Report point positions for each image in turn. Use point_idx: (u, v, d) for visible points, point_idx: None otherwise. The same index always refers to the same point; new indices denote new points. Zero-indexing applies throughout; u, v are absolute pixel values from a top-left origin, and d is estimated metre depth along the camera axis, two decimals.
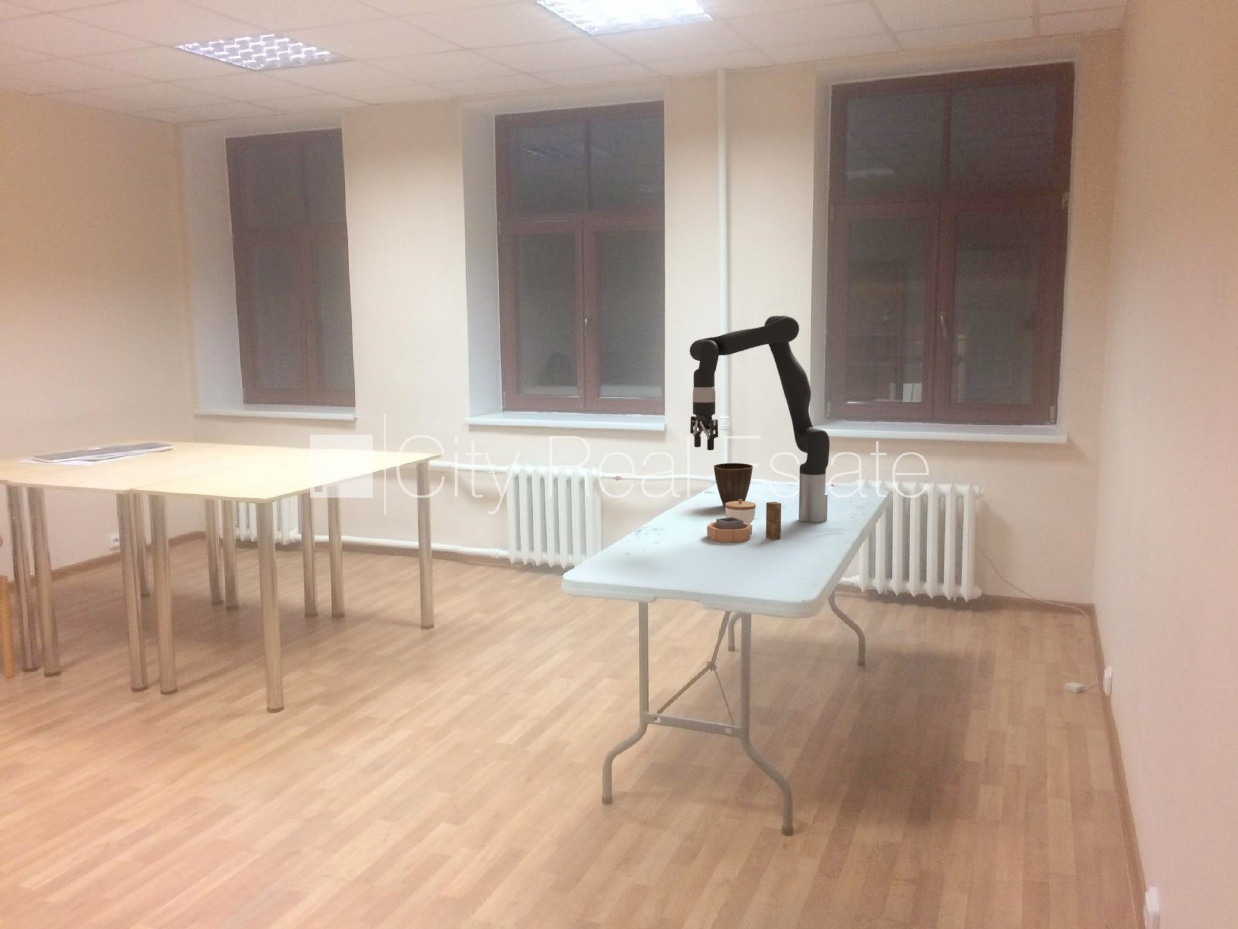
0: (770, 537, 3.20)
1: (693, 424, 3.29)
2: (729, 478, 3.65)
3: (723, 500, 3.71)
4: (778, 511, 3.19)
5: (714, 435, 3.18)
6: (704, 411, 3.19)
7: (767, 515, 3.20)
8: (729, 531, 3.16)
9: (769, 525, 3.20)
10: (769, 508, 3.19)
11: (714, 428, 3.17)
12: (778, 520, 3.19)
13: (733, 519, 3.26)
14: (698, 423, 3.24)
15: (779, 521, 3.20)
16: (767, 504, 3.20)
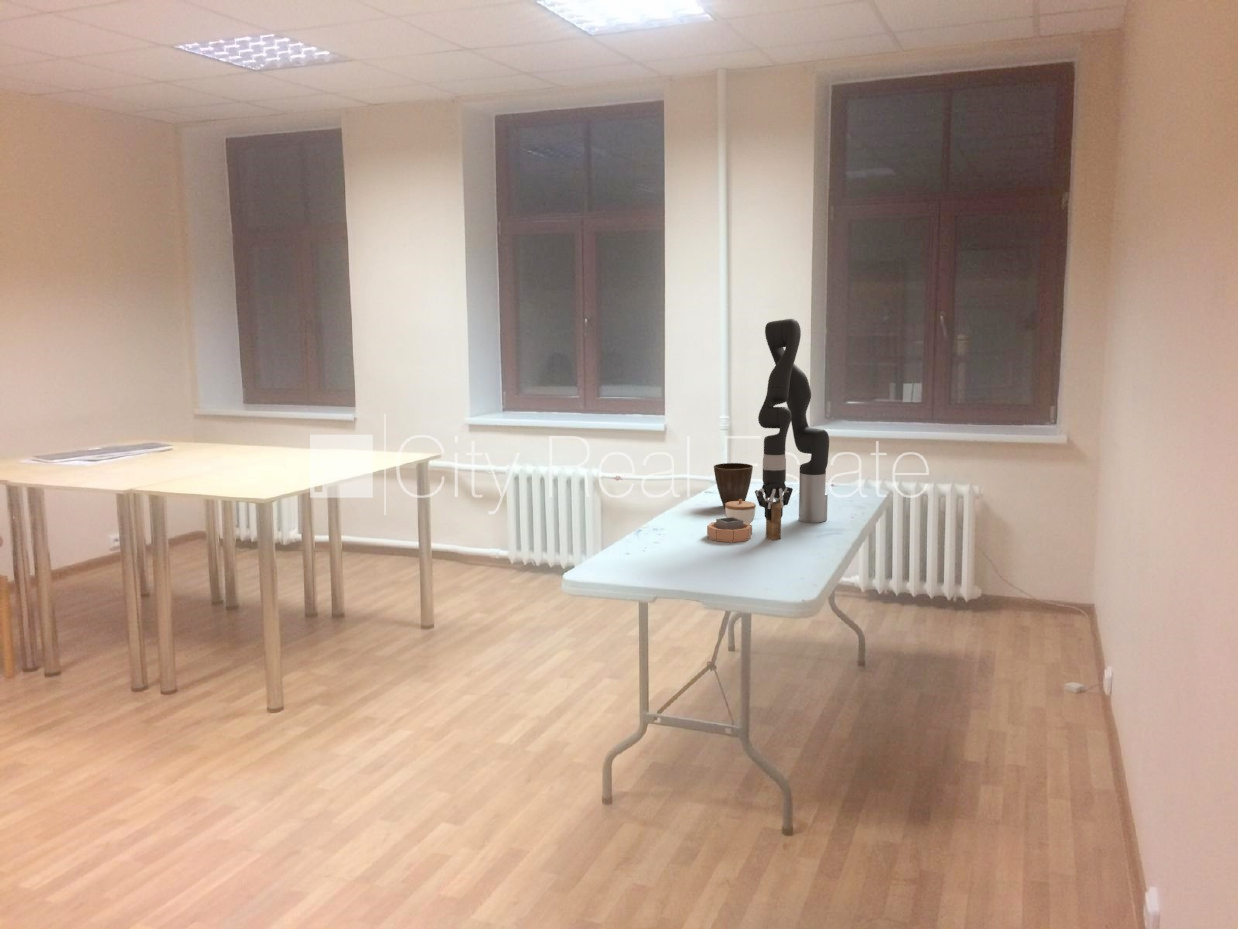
0: (770, 537, 3.20)
1: None
2: (729, 478, 3.65)
3: (723, 500, 3.71)
4: (778, 511, 3.19)
5: None
6: (785, 477, 3.18)
7: None
8: (729, 531, 3.16)
9: (769, 525, 3.20)
10: None
11: None
12: (778, 520, 3.19)
13: (733, 519, 3.26)
14: None
15: (779, 521, 3.20)
16: None
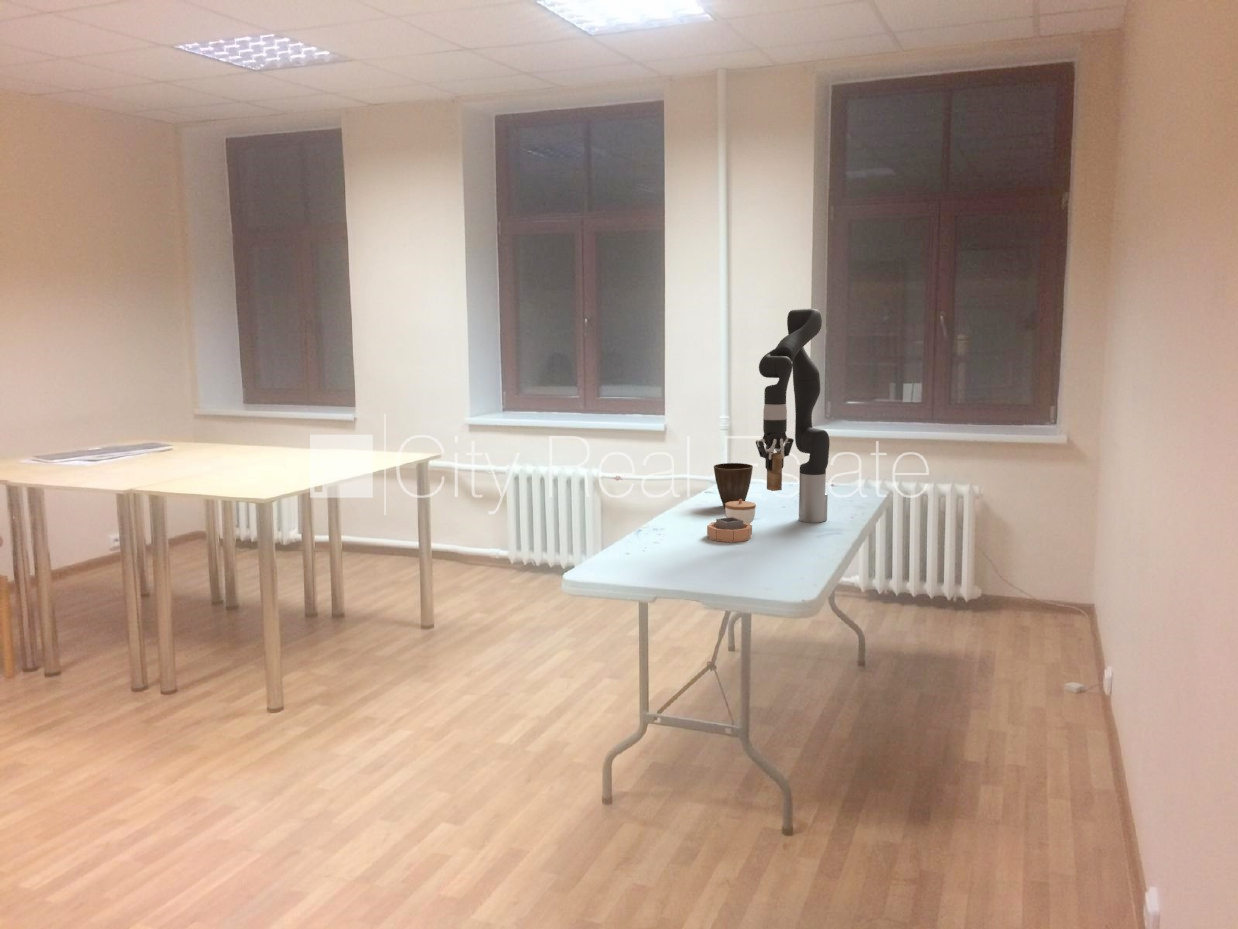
0: (771, 488, 3.17)
1: None
2: (729, 478, 3.65)
3: (723, 500, 3.71)
4: (779, 462, 3.16)
5: None
6: (786, 427, 3.16)
7: None
8: (729, 531, 3.16)
9: (770, 476, 3.17)
10: None
11: None
12: (779, 470, 3.17)
13: (733, 519, 3.26)
14: None
15: (780, 472, 3.17)
16: None
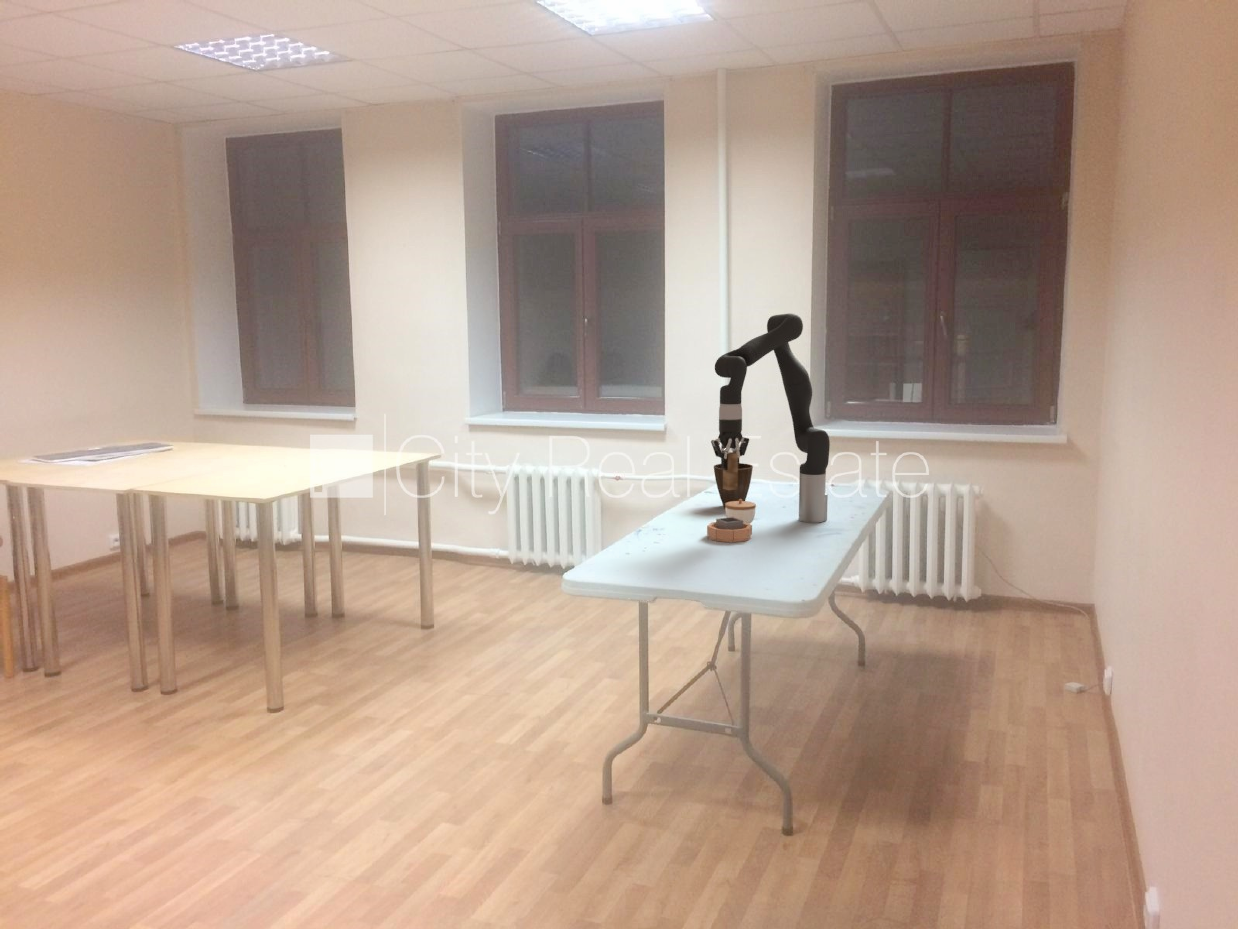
0: (727, 487, 3.19)
1: None
2: None
3: (723, 500, 3.71)
4: (734, 461, 3.18)
5: None
6: None
7: None
8: (729, 531, 3.16)
9: (726, 475, 3.19)
10: None
11: None
12: (735, 470, 3.19)
13: (733, 519, 3.26)
14: None
15: (736, 471, 3.19)
16: None
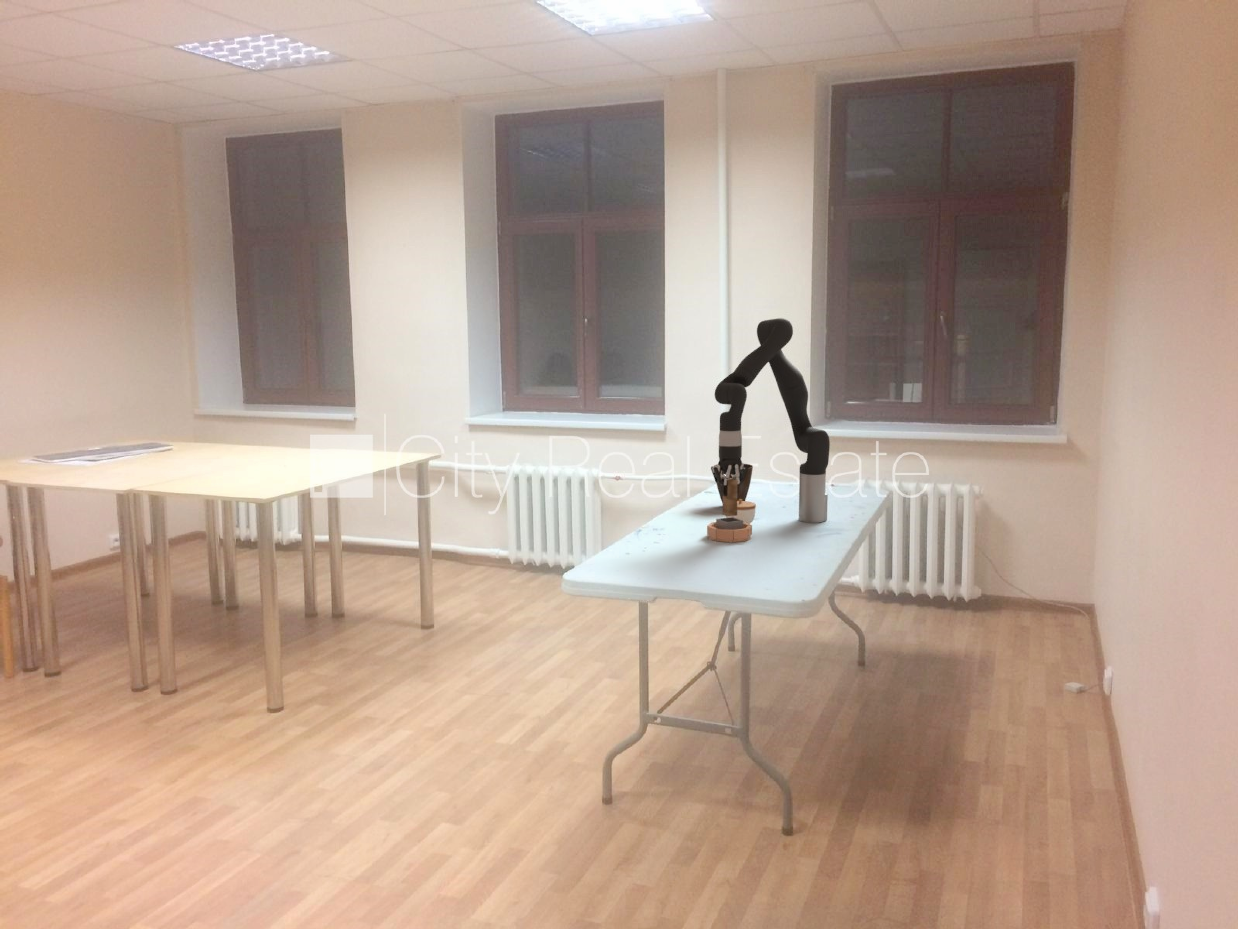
0: (726, 513, 3.21)
1: None
2: None
3: None
4: (734, 488, 3.20)
5: None
6: (741, 453, 3.19)
7: None
8: (729, 531, 3.16)
9: (725, 501, 3.21)
10: None
11: None
12: (735, 496, 3.20)
13: (733, 519, 3.26)
14: None
15: (735, 497, 3.20)
16: None
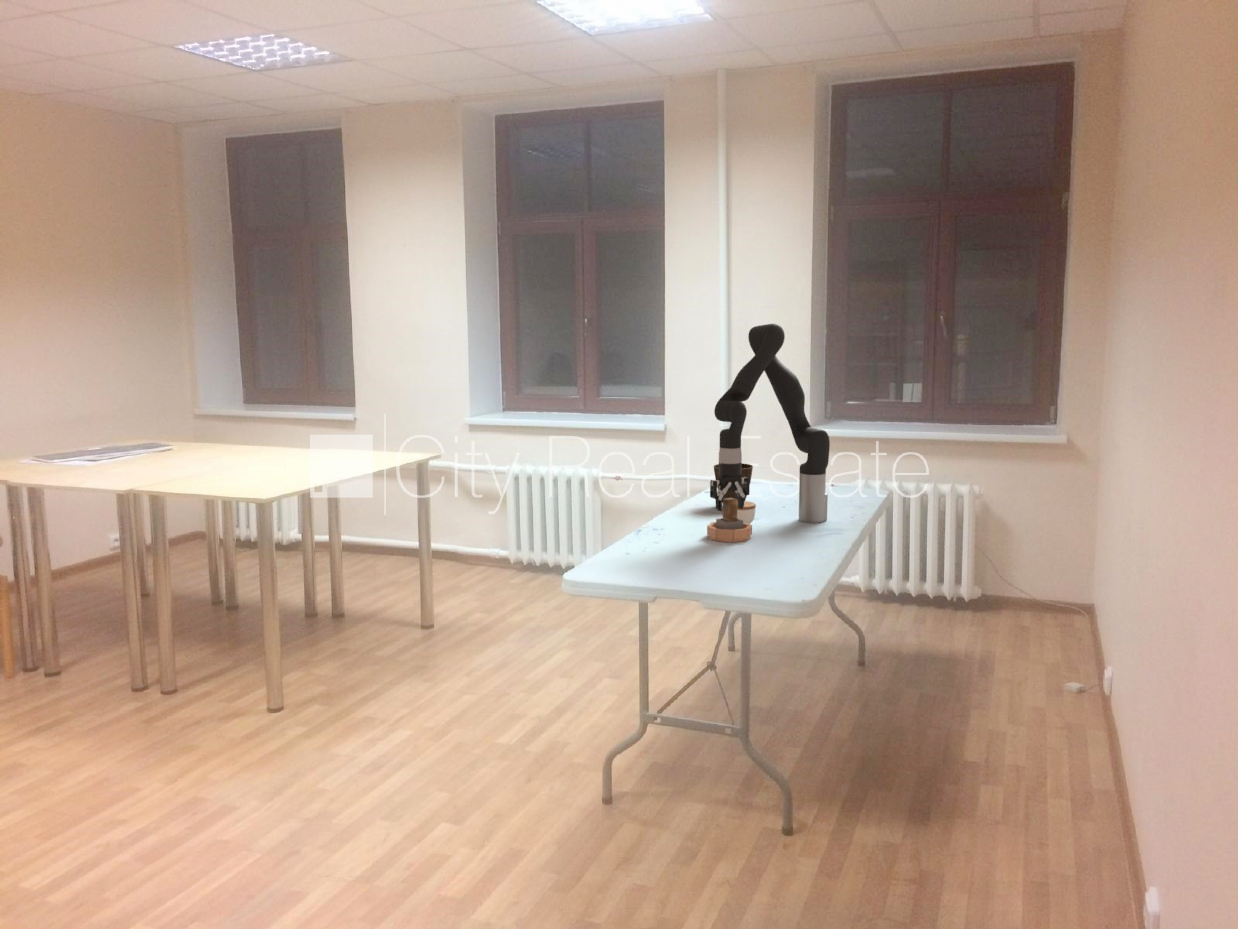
0: None
1: None
2: None
3: None
4: (734, 508, 3.21)
5: None
6: None
7: (723, 511, 3.22)
8: (729, 531, 3.16)
9: (725, 521, 3.22)
10: (725, 504, 3.21)
11: None
12: (735, 516, 3.21)
13: None
14: None
15: (735, 517, 3.21)
16: (723, 500, 3.22)
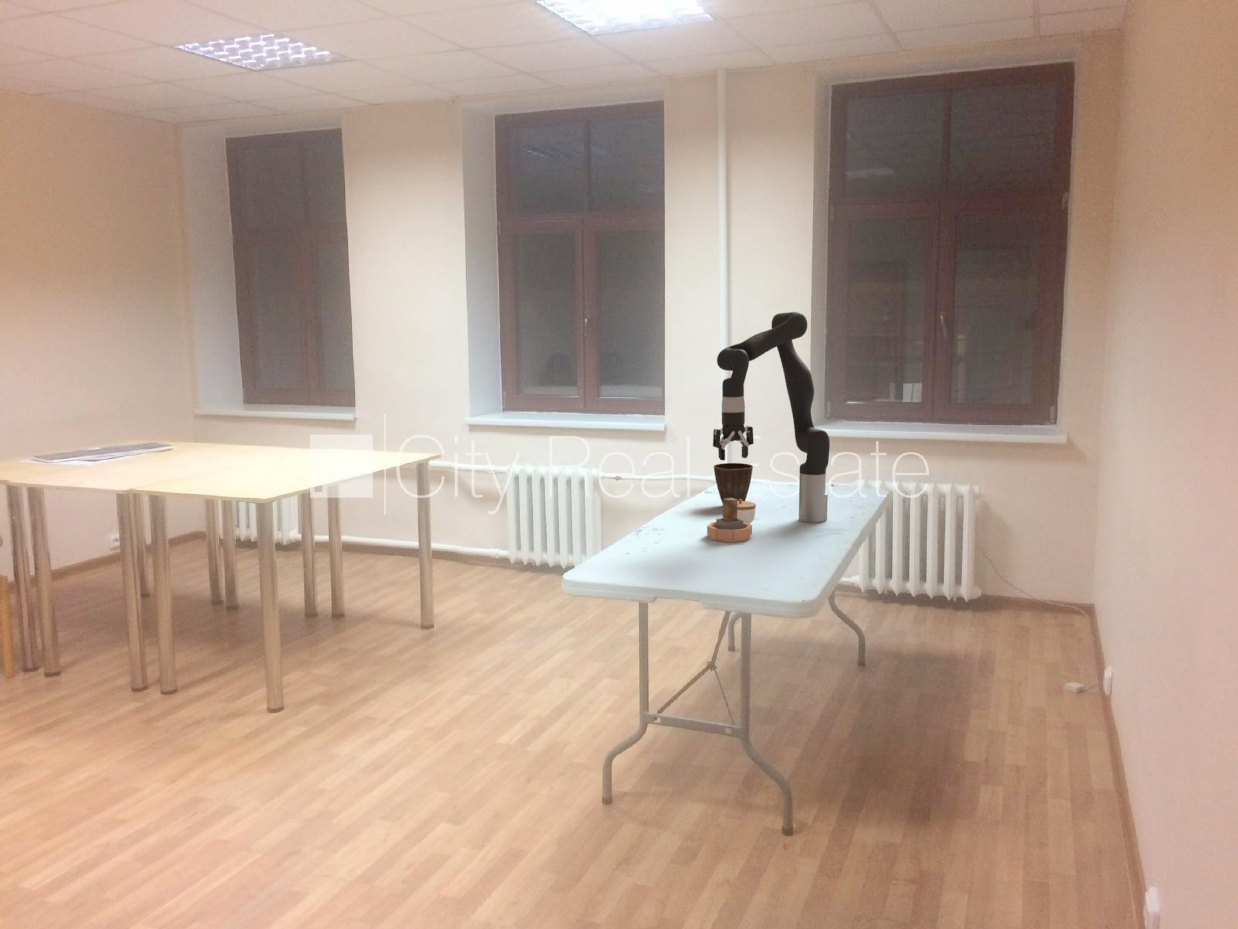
0: None
1: None
2: (729, 478, 3.65)
3: None
4: (734, 508, 3.21)
5: None
6: (744, 419, 3.18)
7: (723, 511, 3.22)
8: (729, 531, 3.16)
9: (725, 521, 3.22)
10: (725, 504, 3.21)
11: None
12: (735, 516, 3.21)
13: None
14: None
15: (735, 517, 3.21)
16: (723, 500, 3.22)
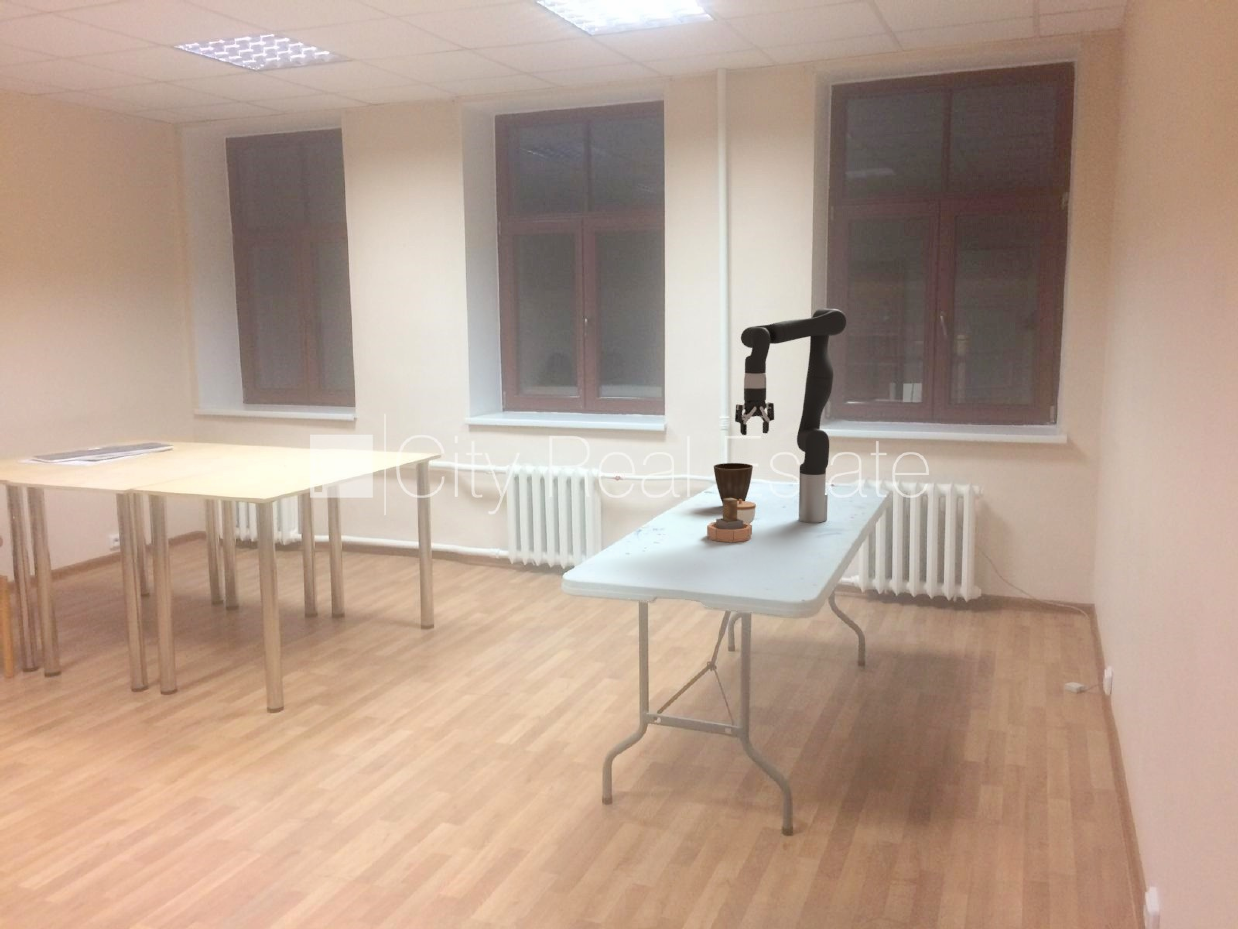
0: None
1: None
2: (729, 478, 3.65)
3: None
4: (734, 508, 3.21)
5: None
6: None
7: (723, 511, 3.22)
8: (729, 531, 3.16)
9: (725, 521, 3.22)
10: (725, 504, 3.21)
11: None
12: (735, 516, 3.21)
13: None
14: None
15: (735, 517, 3.21)
16: (723, 500, 3.22)
